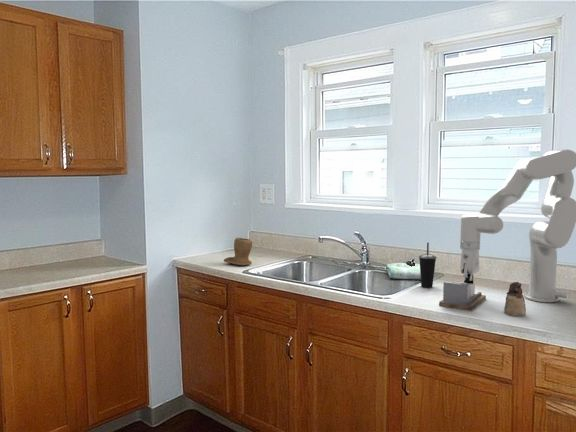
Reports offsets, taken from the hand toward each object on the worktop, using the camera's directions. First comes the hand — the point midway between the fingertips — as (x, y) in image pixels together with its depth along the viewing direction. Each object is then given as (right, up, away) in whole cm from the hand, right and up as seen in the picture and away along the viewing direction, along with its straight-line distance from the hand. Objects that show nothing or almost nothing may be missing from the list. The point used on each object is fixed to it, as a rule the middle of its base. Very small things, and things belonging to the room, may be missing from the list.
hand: (468, 289), depth 198 cm
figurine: (+9, -6, -20) cm, 23 cm away
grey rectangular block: (-9, -3, -12) cm, 16 cm away
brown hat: (-101, +3, +73) cm, 124 cm away
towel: (-15, 0, +43) cm, 46 cm away
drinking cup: (-11, -2, +20) cm, 23 cm away
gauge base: (-4, -4, -5) cm, 8 cm away
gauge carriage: (-5, -2, -5) cm, 8 cm away
